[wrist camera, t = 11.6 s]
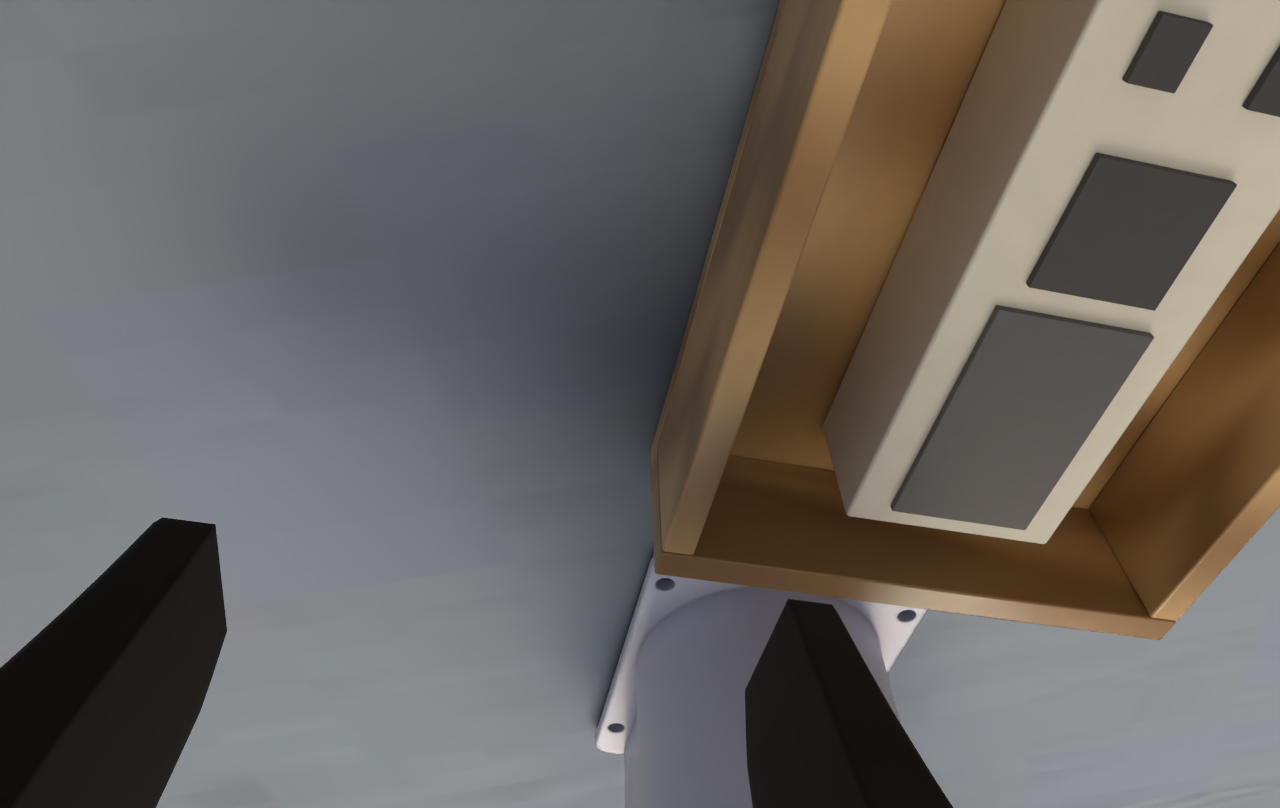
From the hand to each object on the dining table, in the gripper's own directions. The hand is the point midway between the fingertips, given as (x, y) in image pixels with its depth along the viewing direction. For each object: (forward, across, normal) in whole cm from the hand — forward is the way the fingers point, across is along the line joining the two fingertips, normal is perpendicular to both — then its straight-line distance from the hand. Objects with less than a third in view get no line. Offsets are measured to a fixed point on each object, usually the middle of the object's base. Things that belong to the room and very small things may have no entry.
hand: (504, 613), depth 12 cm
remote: (+9, -9, -4) cm, 13 cm away
